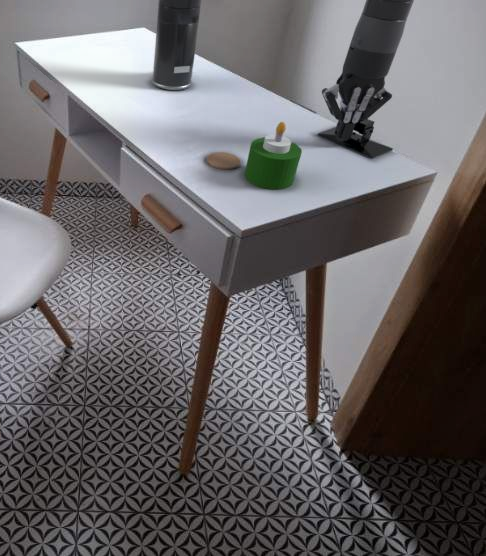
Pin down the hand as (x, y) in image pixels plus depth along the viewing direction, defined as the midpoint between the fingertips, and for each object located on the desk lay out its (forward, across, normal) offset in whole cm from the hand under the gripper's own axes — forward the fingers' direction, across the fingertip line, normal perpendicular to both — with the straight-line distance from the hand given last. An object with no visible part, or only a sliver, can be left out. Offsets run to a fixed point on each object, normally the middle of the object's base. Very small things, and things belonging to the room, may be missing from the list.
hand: (340, 139), depth 99 cm
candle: (+2, +18, +12) cm, 22 cm away
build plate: (+1, -4, -1) cm, 4 cm away
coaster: (+2, +24, +6) cm, 25 cm away
